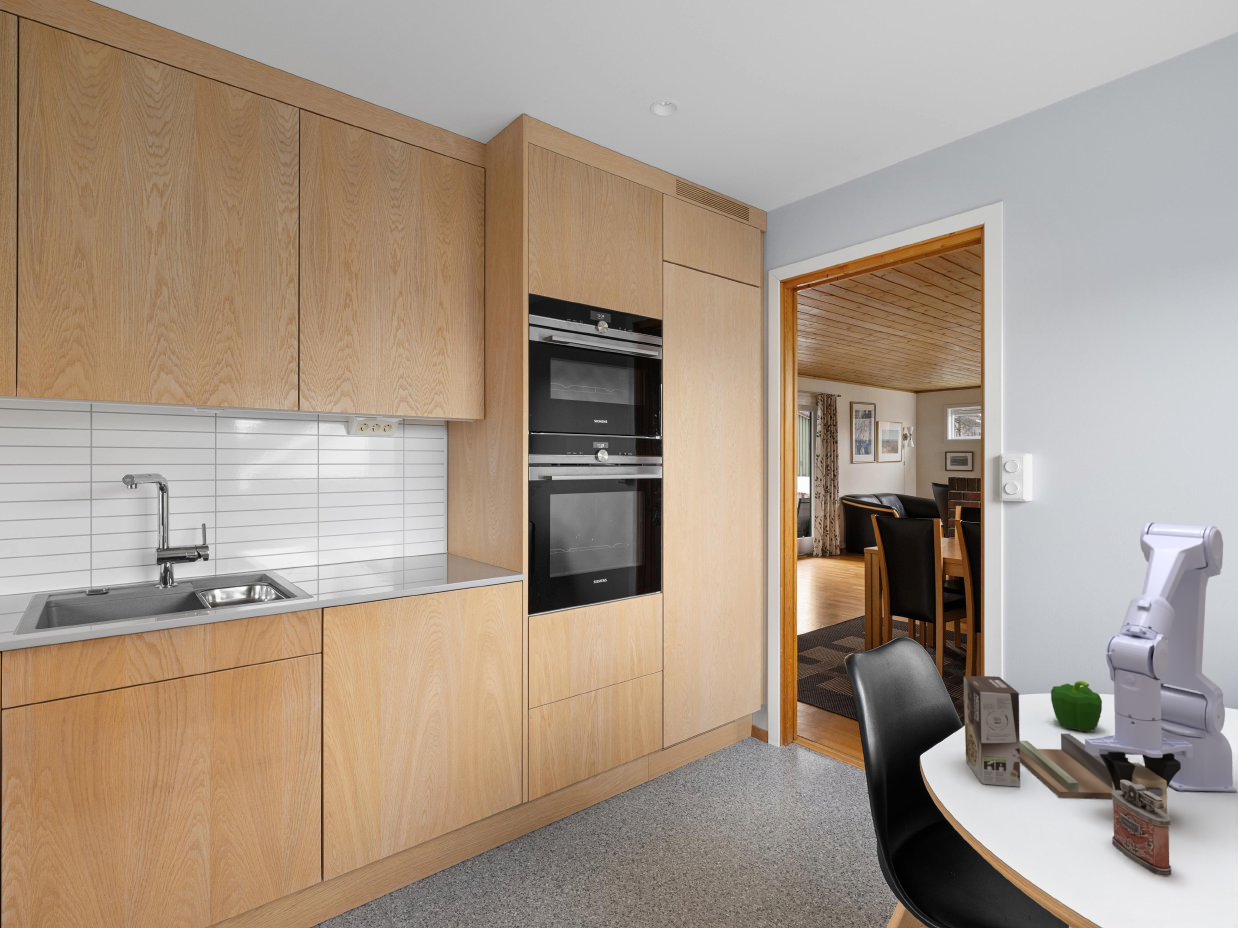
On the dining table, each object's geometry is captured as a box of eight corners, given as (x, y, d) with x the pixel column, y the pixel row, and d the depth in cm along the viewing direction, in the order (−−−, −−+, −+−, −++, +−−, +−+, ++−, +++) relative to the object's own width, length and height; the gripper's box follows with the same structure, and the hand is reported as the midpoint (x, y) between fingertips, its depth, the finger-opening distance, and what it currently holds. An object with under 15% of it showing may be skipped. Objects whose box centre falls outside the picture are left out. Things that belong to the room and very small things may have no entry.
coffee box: (1022, 787, 111) (1020, 693, 111) (981, 784, 112) (979, 691, 112) (1002, 762, 120) (1000, 675, 120) (964, 760, 121) (962, 674, 121)
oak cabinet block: (1139, 805, 104) (1138, 762, 104) (1170, 829, 98) (1169, 783, 98) (1113, 805, 105) (1112, 762, 105) (1141, 828, 98) (1141, 782, 98)
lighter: (1105, 841, 95) (1104, 773, 95) (1127, 840, 95) (1125, 772, 95) (1155, 876, 87) (1154, 802, 87) (1179, 875, 87) (1177, 800, 87)
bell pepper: (1044, 718, 139) (1043, 671, 139) (1086, 719, 138) (1085, 672, 138) (1065, 735, 131) (1064, 685, 131) (1110, 736, 130) (1109, 686, 129)
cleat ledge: (1078, 754, 122) (1077, 733, 122) (1137, 799, 106) (1137, 775, 106) (1010, 753, 123) (1010, 732, 123) (1059, 797, 107) (1059, 773, 107)
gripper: (1104, 723, 98) (1106, 813, 98) (1208, 724, 97) (1210, 815, 97) (1076, 705, 105) (1077, 789, 105) (1172, 706, 104) (1174, 791, 104)
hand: (1139, 800), depth 101 cm, fingers closed on oak cabinet block, 4 cm apart
